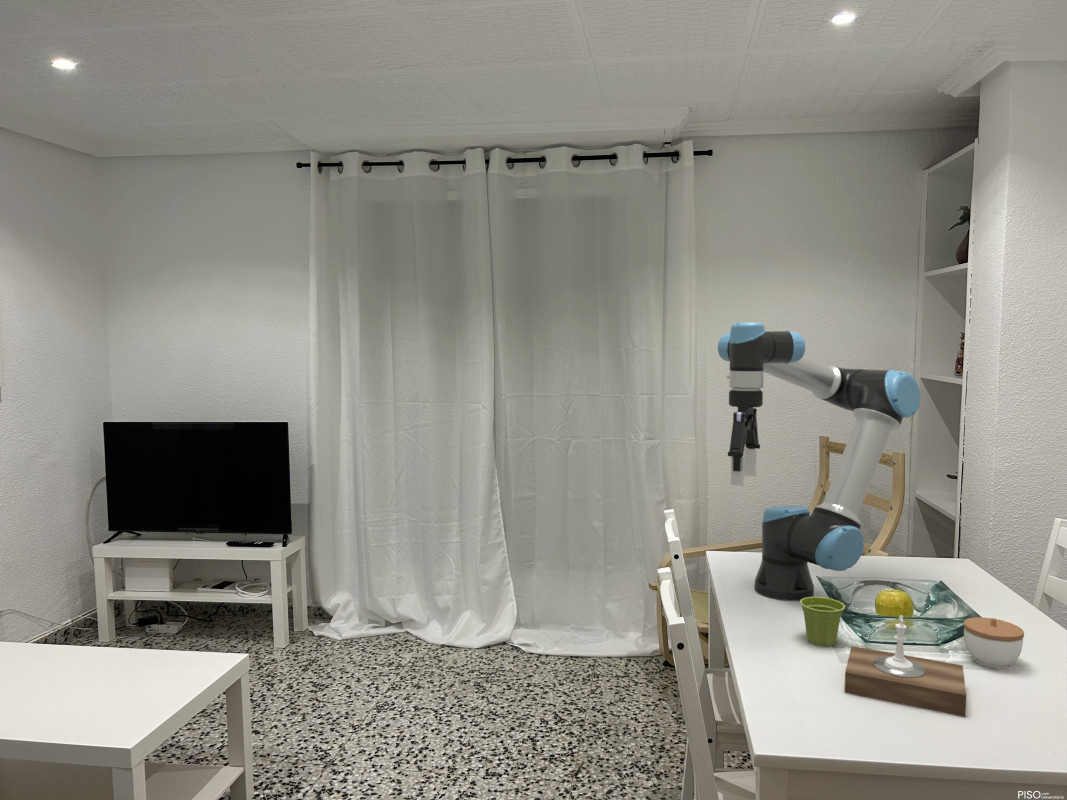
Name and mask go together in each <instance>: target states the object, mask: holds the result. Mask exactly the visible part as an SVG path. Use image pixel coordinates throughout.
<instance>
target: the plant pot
mask: <svg viewBox="0 0 1067 800" xmlns="http://www.w3.org/2000/svg"><path fill="white" fill-rule="evenodd" d="M799 604H800V605H801V608H802V612H803V616H804V618H803V619H804V624H805V631H806V633H805V634H806V640H807V641H808V642H811V644H813V645H816V646H822V647H827V646H829V645H831V646H834V645H836V644H837V639H838V634H839V633H838V632H839V628H840V627H839V626H840V623H841V616H842V615H843V611H844V610H845V608H846V605H845V604H844V603H843V602H841V601H839V600H836V599H833V598H829V597H822V596H813V597H807V598H803V599H801V600H799Z"/></svg>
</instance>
